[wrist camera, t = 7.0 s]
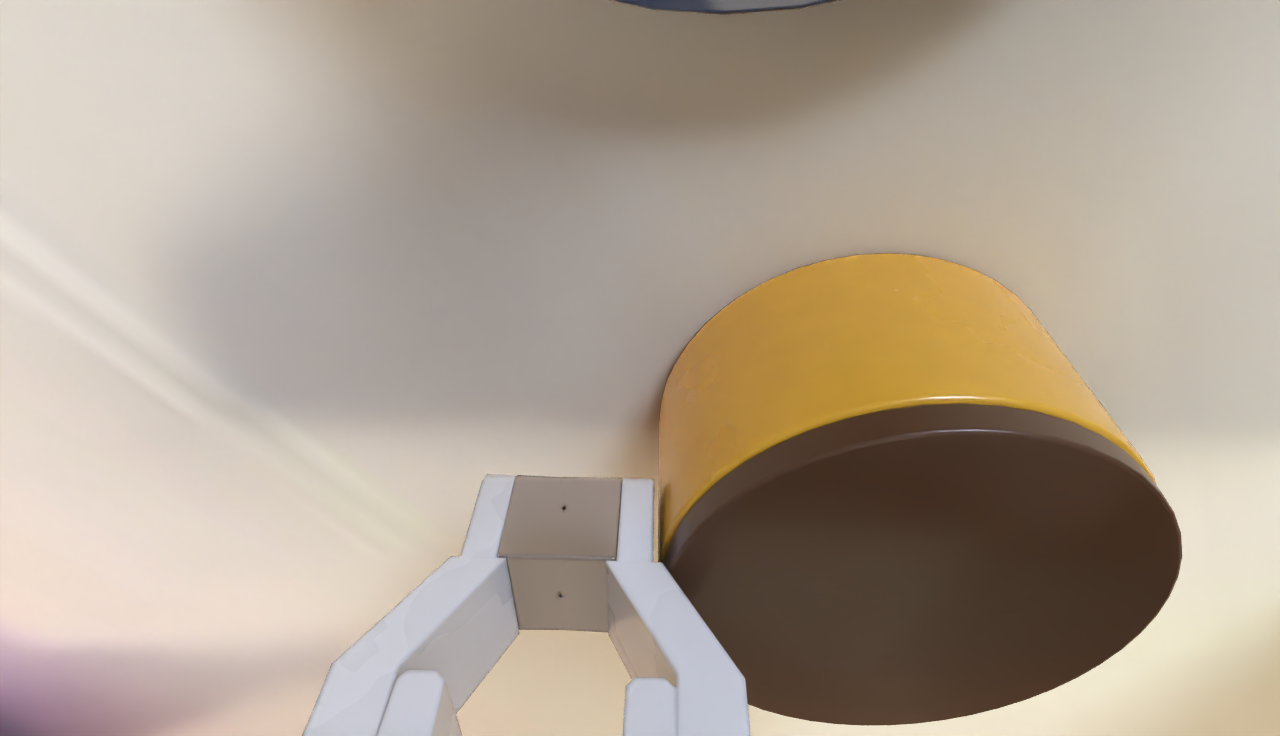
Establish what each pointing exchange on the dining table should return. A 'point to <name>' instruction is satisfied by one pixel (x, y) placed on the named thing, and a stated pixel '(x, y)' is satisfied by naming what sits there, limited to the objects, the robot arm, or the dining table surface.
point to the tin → (902, 497)
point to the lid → (724, 5)
